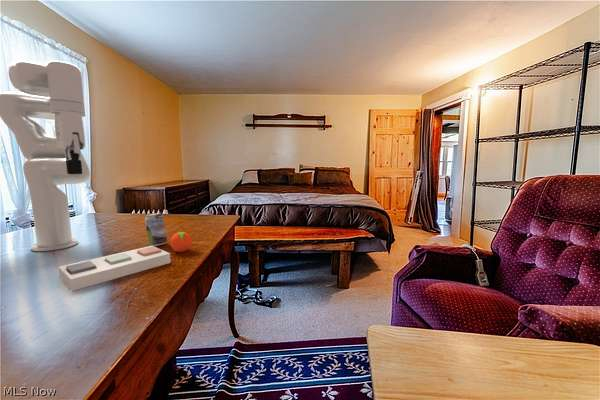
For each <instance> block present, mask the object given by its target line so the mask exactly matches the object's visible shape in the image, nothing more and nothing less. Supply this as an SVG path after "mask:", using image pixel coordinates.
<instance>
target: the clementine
mask: <svg viewBox="0 0 600 400" xmlns="http://www.w3.org/2000/svg"><path fill="white" fill-rule="evenodd" d="M192 244H193V239H192V236H191V235H190V234H189V233H188V232H186V231H179V232H175V233H174V234H173V235H172V236H171V238H170V247H171V248H172V250H174V251H176V252H178V253H182V252H183V253H184V252H187V251H188V250H189V249H190V248H191V247H192Z"/></svg>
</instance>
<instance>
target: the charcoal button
mask: <svg viewBox="0 0 600 400" xmlns="http://www.w3.org/2000/svg"><path fill="white" fill-rule="evenodd" d="M66 267H67V272H68V273H69V274H70V275H72V274H76V273H80V272H84V271H88V270H92V269H96V265H95V264H93V263H92V262H91V261H87V262H83V263H79V264H74V265H70V266H66Z"/></svg>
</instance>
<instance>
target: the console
mask: <svg viewBox="0 0 600 400" xmlns="http://www.w3.org/2000/svg"><path fill="white" fill-rule="evenodd" d="M149 247H153V246H152V245H149V246H144V247H141V248H135V249H131V250H126V251H122V252H118V253H113V254H109V255H106V256H105V255H103V256H100V257H95V258H92V259H91V258H90V259H87V260H82V261H78V262H74V263H70V264H65V265H60V266H58V267H57V268H58V274H59V275H58V276H59V278H60V280H61V279H62V280H63V281H62V280H61V281H62V282H63V283H64V284H65V286H67V287H68V288H69V290H70V291H71V290H72V292H73V291H77V290H81V289H84V288H88V287H91V286H95V285H99V284H101V283H104V282H108V281H111V280H116V279H119V278H122V277H125V276H129V275H134V274H136V273H139V272H143V271H146V270H149V269H153V268H157V267H160V266H163V265H167V264H171V252H168V251H165V250H163V249H161V252H160V253H156V254H152V255H148V256H142V255H140V254H138V253H137V250H140V249H144V248H149ZM122 253H125V254H127V255H129V256H131V260H128V261H124V262H120V263H116V264H112V265H110V264H109V263H107V262H106V261H105V257H109V256H114V255H118V254H122ZM87 261H91V262H92V263H93V264H95V265H96V269H92V270H88V271H84V272H80V273H76V274H72V275H70V274H69V273H68V272H67V267H66V266H70V265H74V264H79V263H83V262H87Z"/></svg>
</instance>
